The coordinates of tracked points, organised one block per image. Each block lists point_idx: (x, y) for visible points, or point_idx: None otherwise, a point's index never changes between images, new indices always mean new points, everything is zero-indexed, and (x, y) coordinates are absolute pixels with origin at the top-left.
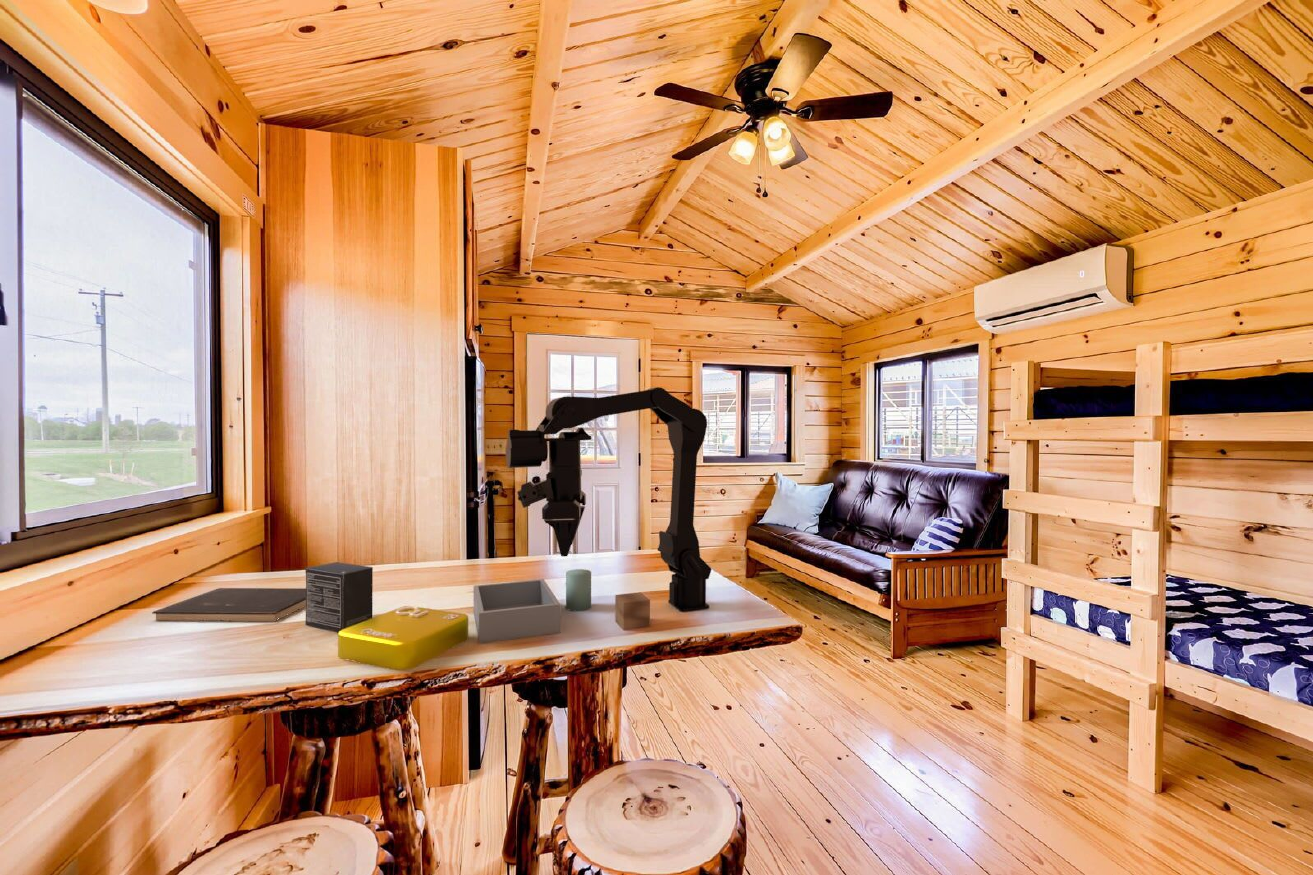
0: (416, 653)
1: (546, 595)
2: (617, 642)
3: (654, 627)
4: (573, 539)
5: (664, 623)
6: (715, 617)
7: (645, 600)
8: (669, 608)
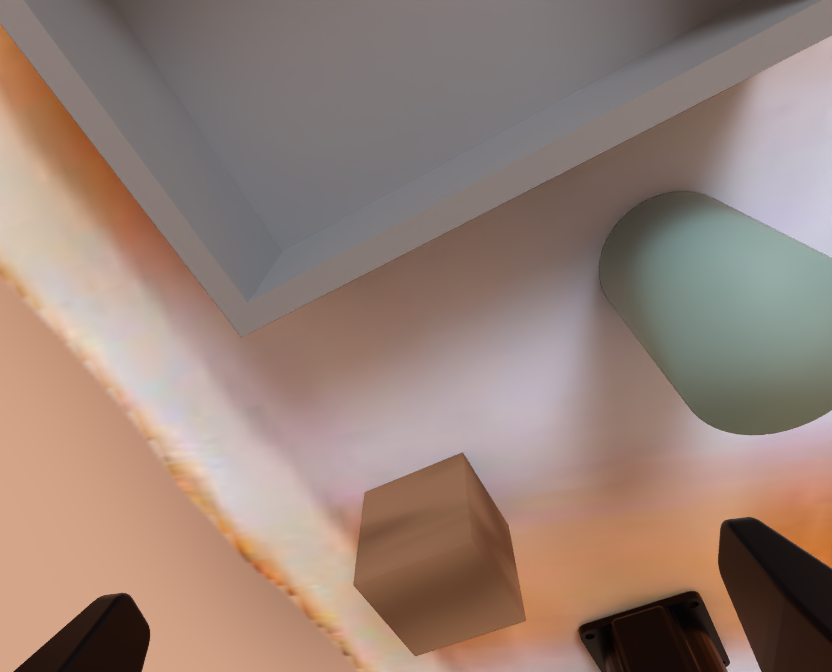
0: None
1: (529, 144)
2: (243, 492)
3: None
4: (754, 651)
5: None
6: None
7: (405, 644)
8: (625, 593)
